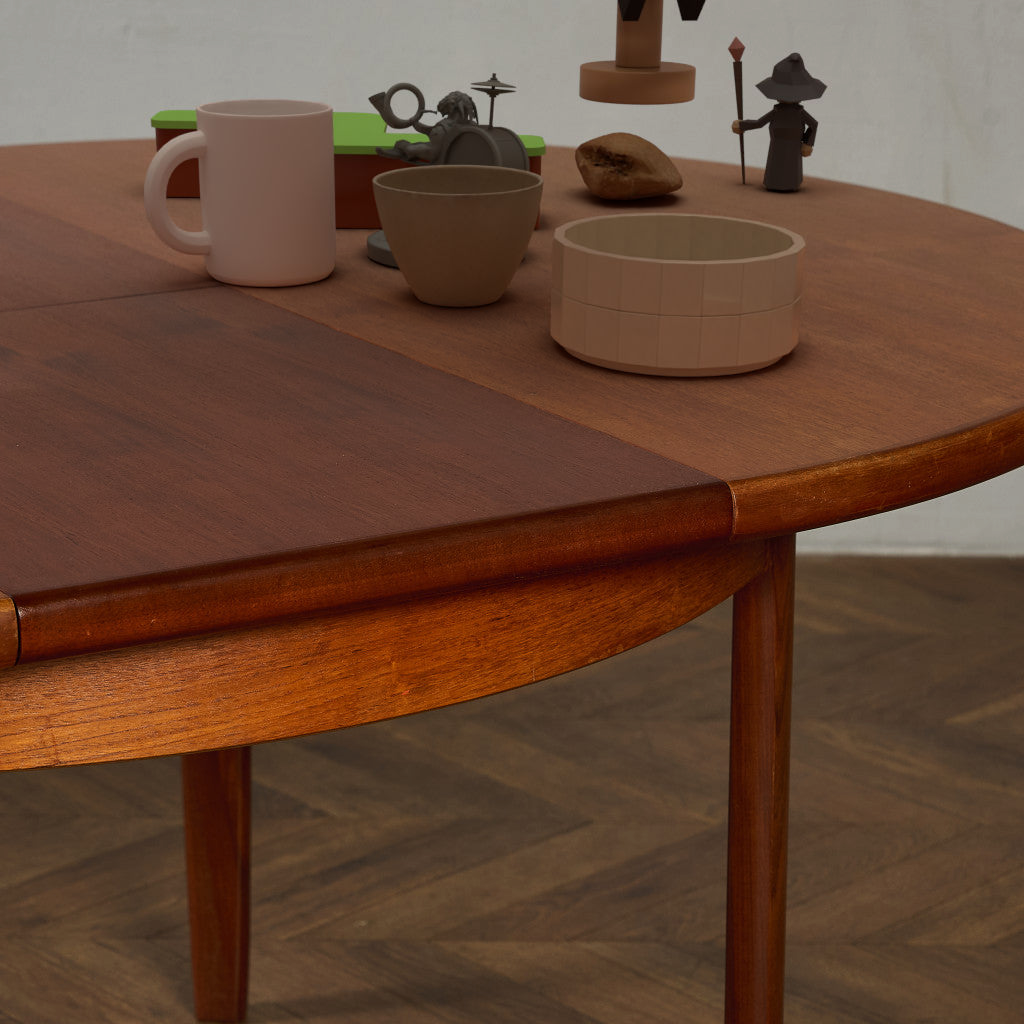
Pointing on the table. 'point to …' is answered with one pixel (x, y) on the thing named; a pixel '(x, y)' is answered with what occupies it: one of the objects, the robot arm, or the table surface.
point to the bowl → (676, 293)
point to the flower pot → (458, 228)
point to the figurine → (448, 141)
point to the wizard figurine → (781, 118)
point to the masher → (638, 66)
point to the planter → (351, 161)
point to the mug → (255, 191)
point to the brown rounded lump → (626, 167)
